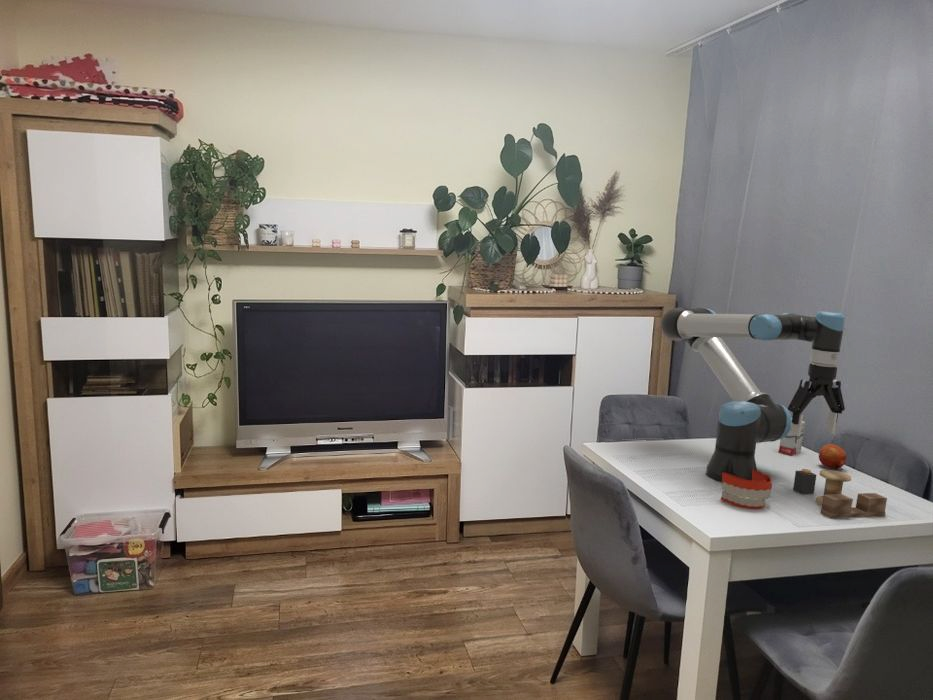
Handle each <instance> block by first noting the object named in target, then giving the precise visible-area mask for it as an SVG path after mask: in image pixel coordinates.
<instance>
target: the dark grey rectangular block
mask: <svg viewBox="0 0 933 700" xmlns="http://www.w3.org/2000/svg"><path fill="white" fill-rule="evenodd" d="M794 474H795V475H794V479H793V488H792V490H793V491H795V492H797V493H799V494H801V495H814V493H815V487H816V480H817V474H816V473H814V472H812V471H811V469H807V468H802V469H801V470H795V473H794Z"/></svg>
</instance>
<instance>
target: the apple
mask: <svg viewBox="0 0 933 700" xmlns="http://www.w3.org/2000/svg"><path fill="white" fill-rule="evenodd" d="M818 460H819V462H820V463H821V465H823V466H824V467H826V468H828V469H830V470H836V469H837V470H839V469H841V468H842V467H843V466H844V465H845V464H846V462H847V453H846V452H845V450H844V449H843V448H842V447H841V446H838V445H836V444H832V443H830V444H829V443H828V444H825V445H824V446H822V447H821V448H820V449H819V451H818Z"/></svg>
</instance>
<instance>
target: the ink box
mask: <svg viewBox="0 0 933 700" xmlns="http://www.w3.org/2000/svg"><path fill="white" fill-rule="evenodd" d="M792 424H793V423H791V429H790V431H789V433H788V434H787V435H786V436H785V437H784V438H782V439H779V445H778V446H779V449H778V453H780V454H784V455H788V456H791V457H792V456H794V454H795V455H797V454H800V453H801V451H802V443H803V439H804V432H805V425H806V421H803V420H802V427H801V433H800V436H797V435H794V434H791V430H792ZM799 452H800V453H799Z"/></svg>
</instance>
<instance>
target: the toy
mask: <svg viewBox="0 0 933 700" xmlns="http://www.w3.org/2000/svg"><path fill="white" fill-rule="evenodd" d="M721 490H722V491H721V497H720V501H723V502H725V503H727V504H730V505H733V506H735V507H738V508H743V509H744V508H745V509H748V510H749V509H751V510H757V509H763V508H765V507H766V504H767V503H766V502H767V501H766V500H768V499H769V498H770V497H771V490H772V479H771V477H770V476H769V475H767V474H765V473H763V472H761V471H759V470H757V471H756V470H752V480H746V479H742V478H739V477H736V476H734V475H731V474H728V473H725V472H722V482H721Z"/></svg>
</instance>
